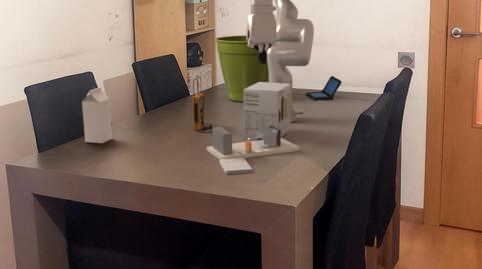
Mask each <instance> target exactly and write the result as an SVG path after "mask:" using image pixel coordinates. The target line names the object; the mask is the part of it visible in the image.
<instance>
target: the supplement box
mask: <svg viewBox="0 0 482 269" xmlns="http://www.w3.org/2000/svg"><path fill="white" fill-rule="evenodd" d="M243 91H244V102H243V138H244V139H248V138H256V130H264V129H269V126H271V125H272V126H274V127H276V128H278V129H280V130H281V138H283V136H285V135H286V134H287V133H288V132H290V131H291V122H290V107H291V84H285V83H268V82H258V83H256V84H253V85H251V86H249V87H247V88H246V89H244V90H243Z"/></svg>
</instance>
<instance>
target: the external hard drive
mask: <svg viewBox="0 0 482 269" xmlns="http://www.w3.org/2000/svg"><path fill="white" fill-rule="evenodd" d="M219 164H220V166H221V167H222V169H223V171H224V172H225V174H226V175H232V174H233V175H235V174H247V173H253V172H254V170H253V168H252V167H251V165H250V164H249V162H248V161H247V160H246V158H237V159H221V160H219Z"/></svg>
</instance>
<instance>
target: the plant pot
mask: <svg viewBox="0 0 482 269" xmlns="http://www.w3.org/2000/svg"><path fill="white" fill-rule="evenodd" d="M215 42H216V51H217V53H218V59H219V64H220V65H219V66H220V68H221V74H222V77H223V81H224V84H225V87H226V91H227V93H226V94H227V98H228V99H229V100H230V101H234V102H243V103H244V91H243V90H244V89H246V88H247V87H249V86H251V85H253V84H256V83H258V82H268V83H269V74H268V63H267V61H266V64H264V63H263V64H260V63H258V60H257V51H256V50H255V49H254V48H252V47H248V46H247V45H248V42H247V40H246V35H230V36H221V37H219V36H218V37H215ZM276 42H277V40H276ZM254 45H255V44H254ZM261 46H263V44H261Z"/></svg>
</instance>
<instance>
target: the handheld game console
mask: <svg viewBox="0 0 482 269" xmlns="http://www.w3.org/2000/svg"><path fill="white" fill-rule="evenodd" d="M341 85H342V80H340V79H339V78H337V77H336V76H334V75H331V76H330V77H329V79H328V80H327V82H326V84H325V85H324V87H323V89H322V90H321V91H308V92H307V91H306V92H305V96H307V97H308V98H309V99H310V100H312V101H314V102H317V101H318V100H324V101H333V100H334V96H335V94H336V93H337V91H338V90H339V88H340V86H341Z"/></svg>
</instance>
